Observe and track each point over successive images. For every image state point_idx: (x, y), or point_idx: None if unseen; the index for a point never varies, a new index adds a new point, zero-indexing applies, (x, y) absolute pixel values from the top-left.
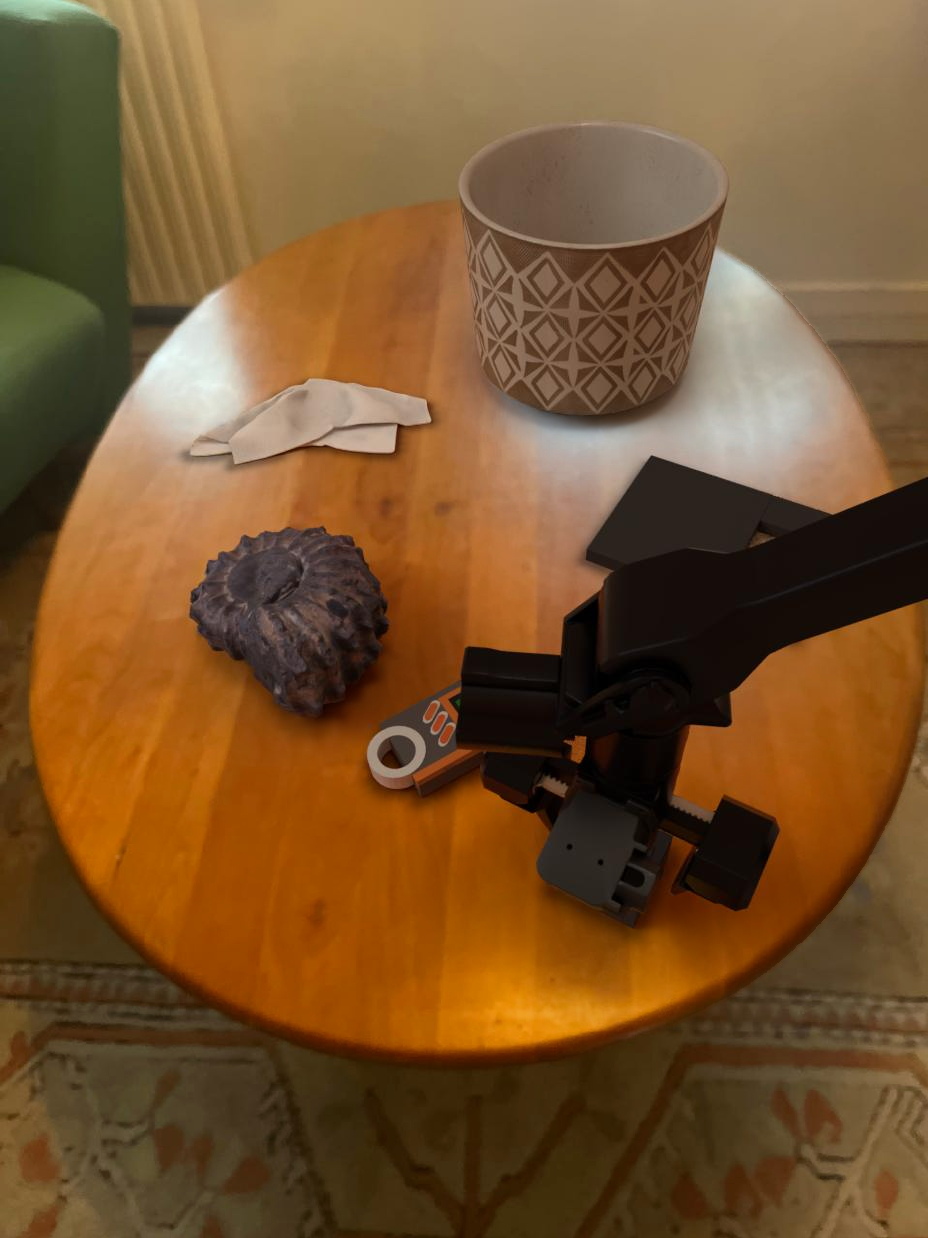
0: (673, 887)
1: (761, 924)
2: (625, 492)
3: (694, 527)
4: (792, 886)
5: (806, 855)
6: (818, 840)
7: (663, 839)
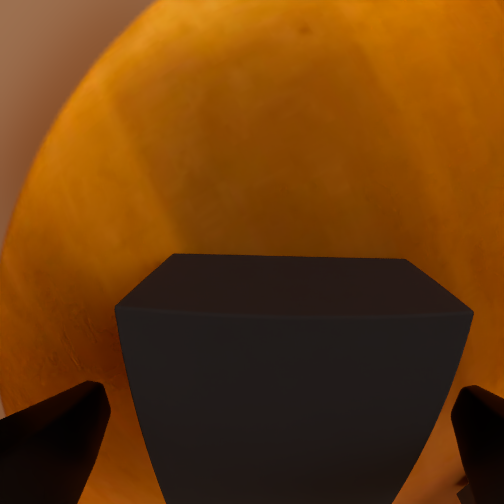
0: (55, 415)
1: (15, 359)
2: None
3: None
4: None
5: None
6: None
7: (181, 498)
